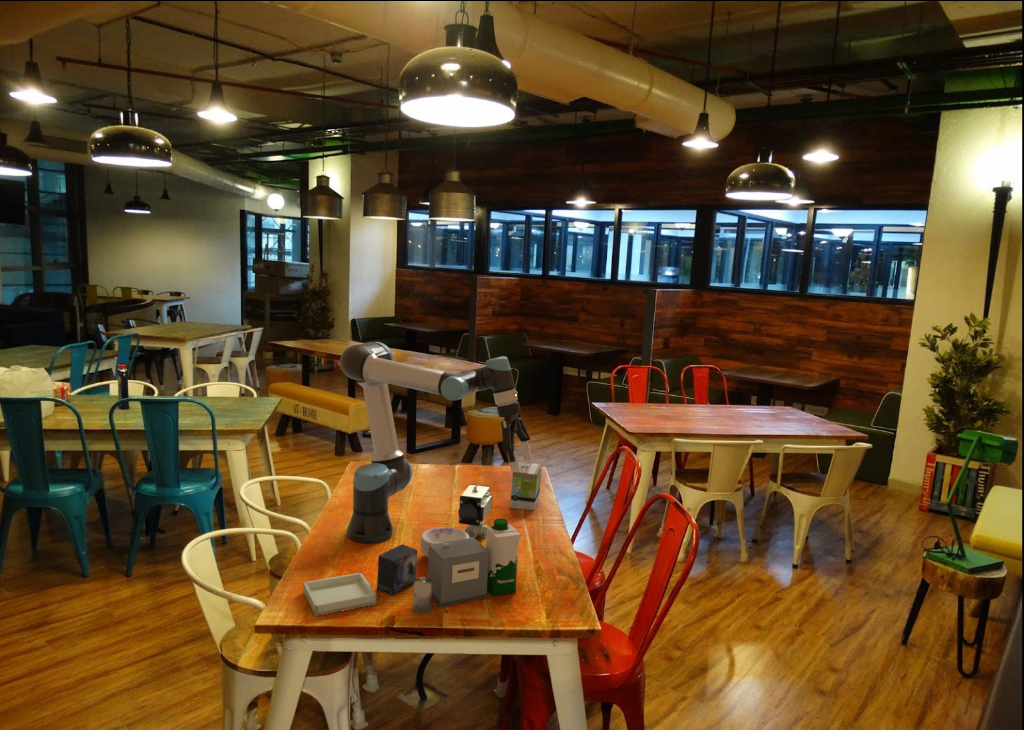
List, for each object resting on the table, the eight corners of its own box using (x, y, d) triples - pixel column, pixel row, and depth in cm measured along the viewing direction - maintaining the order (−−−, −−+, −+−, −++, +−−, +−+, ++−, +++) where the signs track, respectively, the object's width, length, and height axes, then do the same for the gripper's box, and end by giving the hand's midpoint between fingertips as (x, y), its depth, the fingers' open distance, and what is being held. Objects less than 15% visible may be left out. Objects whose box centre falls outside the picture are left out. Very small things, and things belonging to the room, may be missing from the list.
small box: (393, 596, 196) (394, 561, 194) (375, 589, 199) (376, 555, 198) (417, 582, 205) (418, 549, 203) (400, 576, 208) (401, 543, 207)
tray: (303, 592, 196) (303, 582, 195) (361, 582, 203) (361, 572, 203) (315, 616, 183) (315, 606, 183) (376, 604, 191) (376, 594, 190)
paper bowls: (450, 545, 233) (451, 522, 232) (477, 561, 221) (479, 538, 220) (411, 555, 223) (412, 532, 222) (437, 573, 212) (438, 548, 210)
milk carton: (508, 580, 210) (511, 516, 207) (520, 593, 202) (524, 528, 198) (480, 584, 206) (483, 519, 203) (492, 598, 198) (495, 531, 195)
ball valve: (480, 547, 232) (483, 496, 229) (456, 544, 234) (458, 493, 231) (493, 528, 249) (495, 480, 247) (470, 525, 251) (472, 477, 248)
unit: (424, 590, 201) (426, 541, 198) (472, 581, 208) (474, 533, 205) (439, 607, 191) (441, 556, 189) (488, 597, 198) (491, 548, 196)
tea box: (535, 511, 268) (537, 474, 266) (509, 508, 270) (511, 471, 268) (539, 498, 283) (542, 463, 281) (515, 495, 285) (517, 460, 282)
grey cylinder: (410, 606, 191) (411, 578, 190) (427, 602, 194) (428, 575, 192) (416, 614, 187) (417, 586, 186) (434, 611, 189) (435, 583, 188)
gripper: (505, 408, 217) (521, 474, 218) (528, 394, 240) (543, 454, 242) (483, 412, 220) (499, 477, 221) (508, 398, 243) (523, 457, 244)
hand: (522, 465), depth 231 cm, fingers open, 13 cm apart
